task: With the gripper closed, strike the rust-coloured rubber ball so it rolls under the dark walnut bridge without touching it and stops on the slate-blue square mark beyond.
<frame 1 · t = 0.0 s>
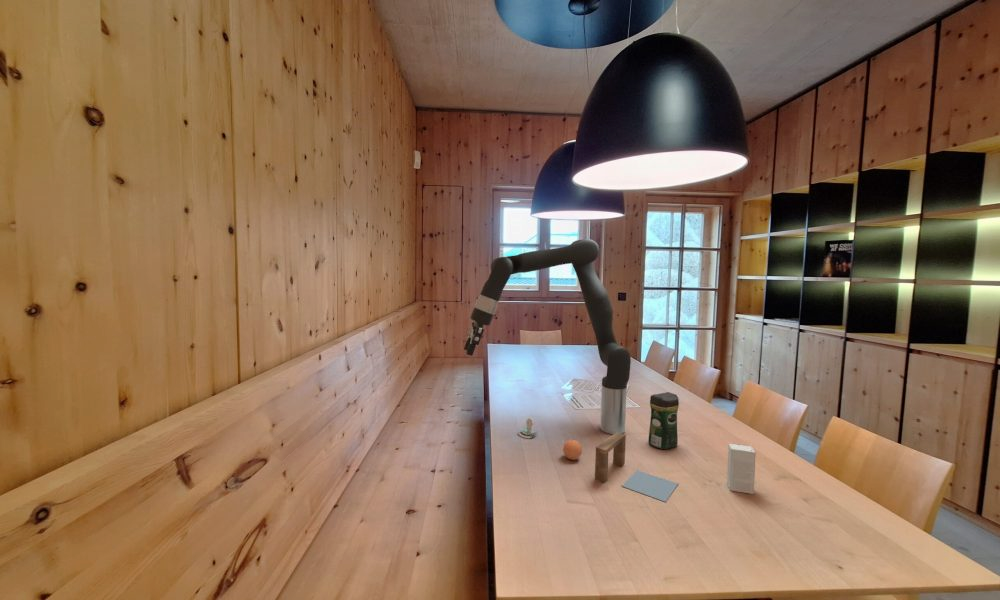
hand: (467, 352, 141), 31 cm above the table, tool tilted 20°, fingers open, 8 cm apart
skincare box: (739, 489, 113), on the table
ball: (572, 449, 129), on the table
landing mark: (650, 485, 114), on the table
coffee jar: (662, 445, 142), on the table
pacifier: (527, 436, 148), on the table
bridge: (610, 471, 121), on the table
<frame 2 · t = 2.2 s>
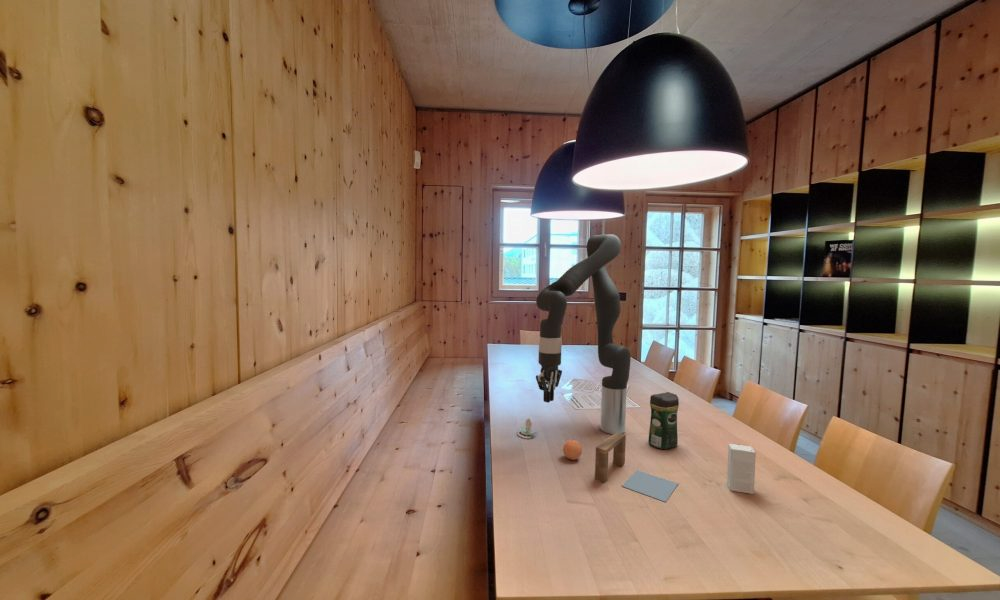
hand: (548, 401, 134), 17 cm above the table, tool pointing down, fingers closed
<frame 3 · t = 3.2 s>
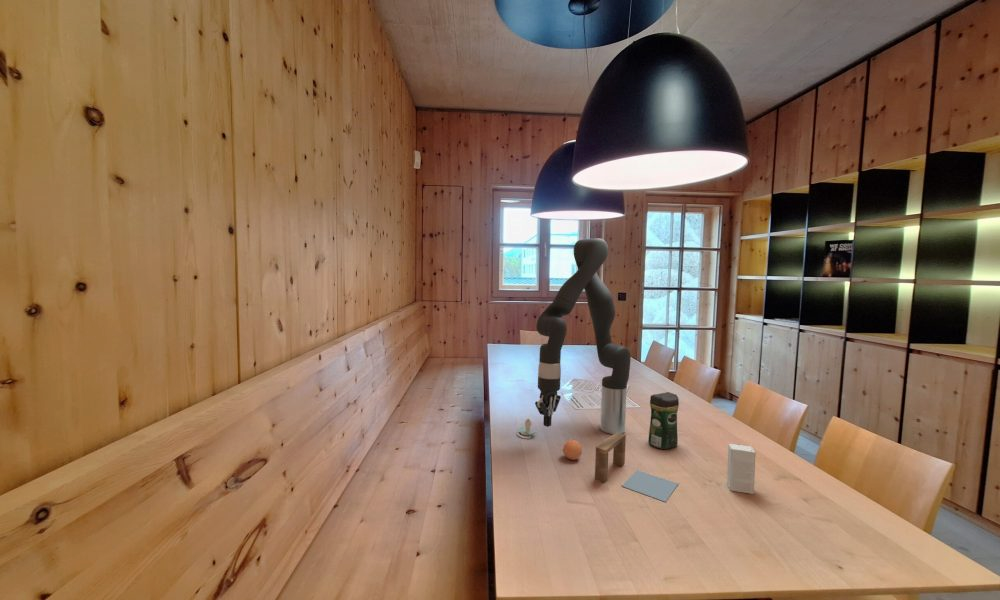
hand: (547, 425, 135), 9 cm above the table, tool pointing down, fingers closed
nothing on the table moved.
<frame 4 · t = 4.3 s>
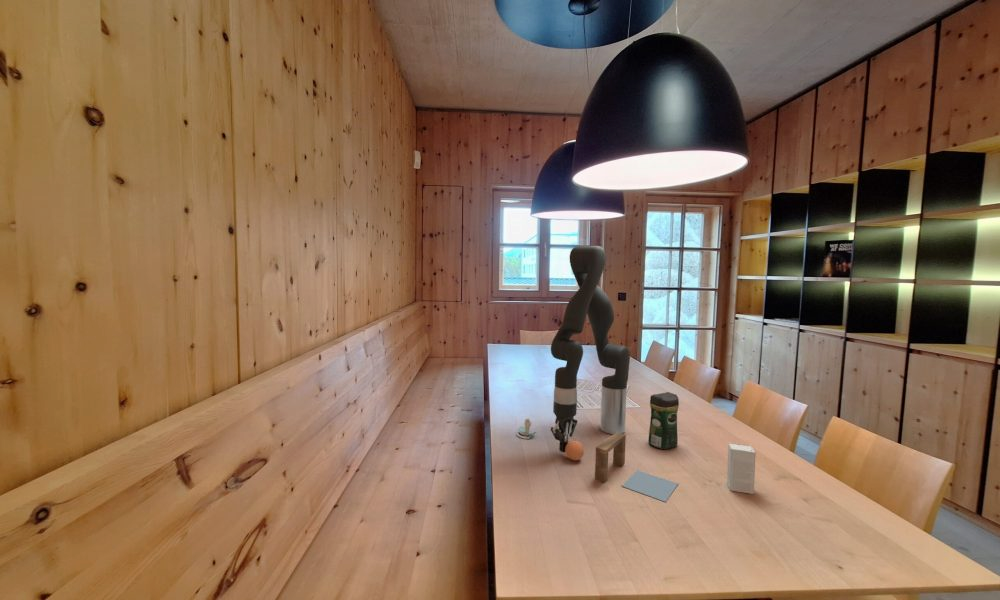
hand: (563, 451, 131), 1 cm above the table, tool pointing down, fingers closed
ball: (574, 450, 129), on the table, touching gripper
everything else where it was.
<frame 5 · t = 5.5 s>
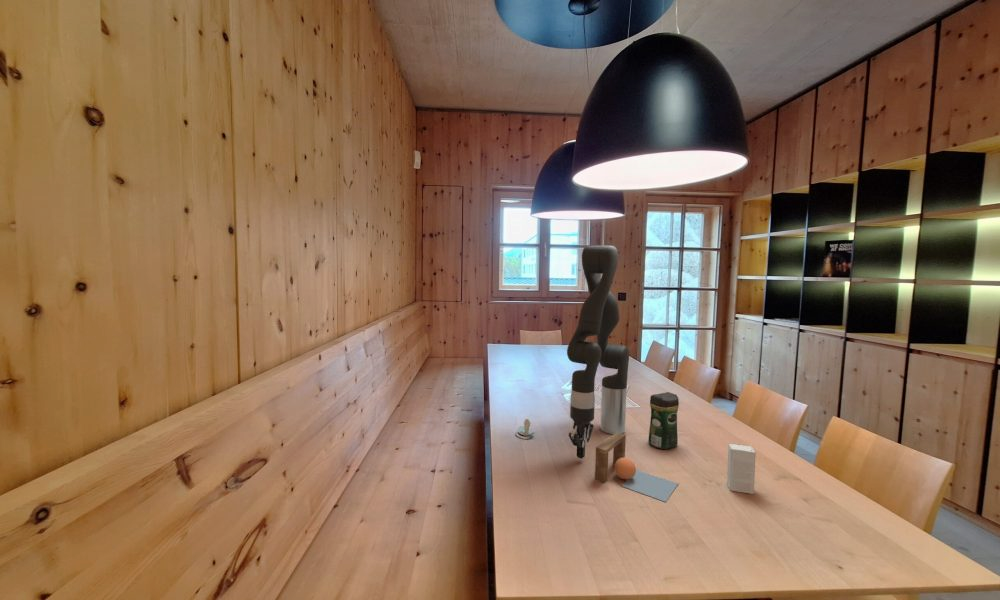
hand: (580, 457, 127), 2 cm above the table, tool pointing down, fingers closed
ball: (625, 468, 117), on the table
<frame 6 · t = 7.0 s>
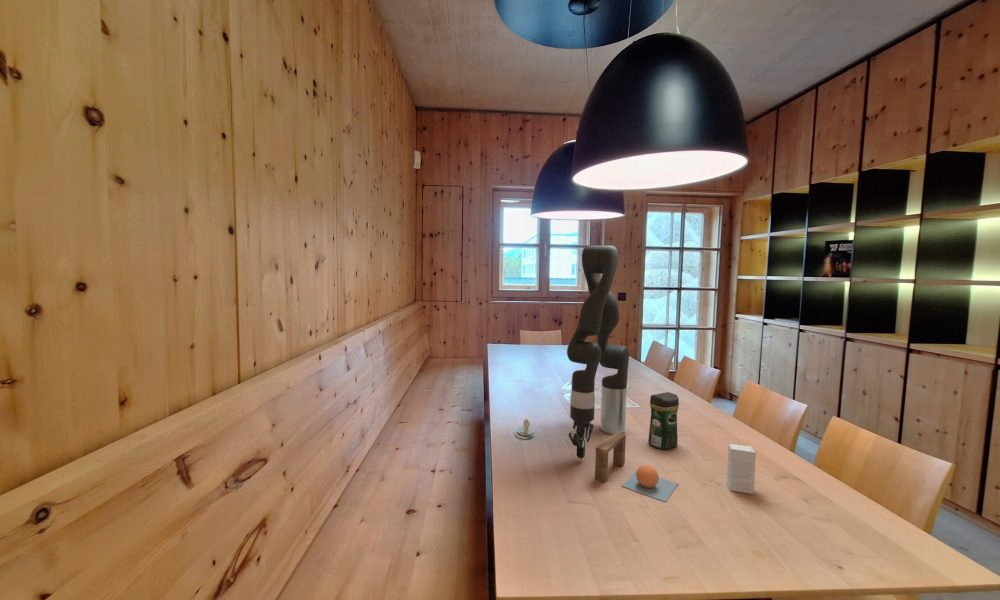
hand: (580, 457, 127), 2 cm above the table, tool pointing down, fingers closed
ball: (647, 476, 113), on the table
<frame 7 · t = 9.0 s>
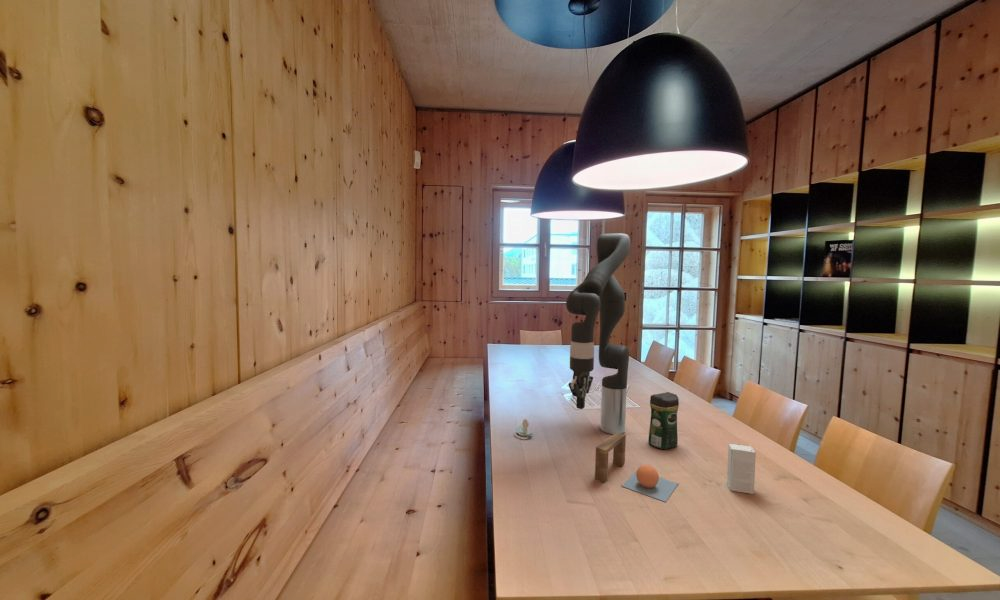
hand: (580, 408, 129), 17 cm above the table, tool pointing down, fingers closed
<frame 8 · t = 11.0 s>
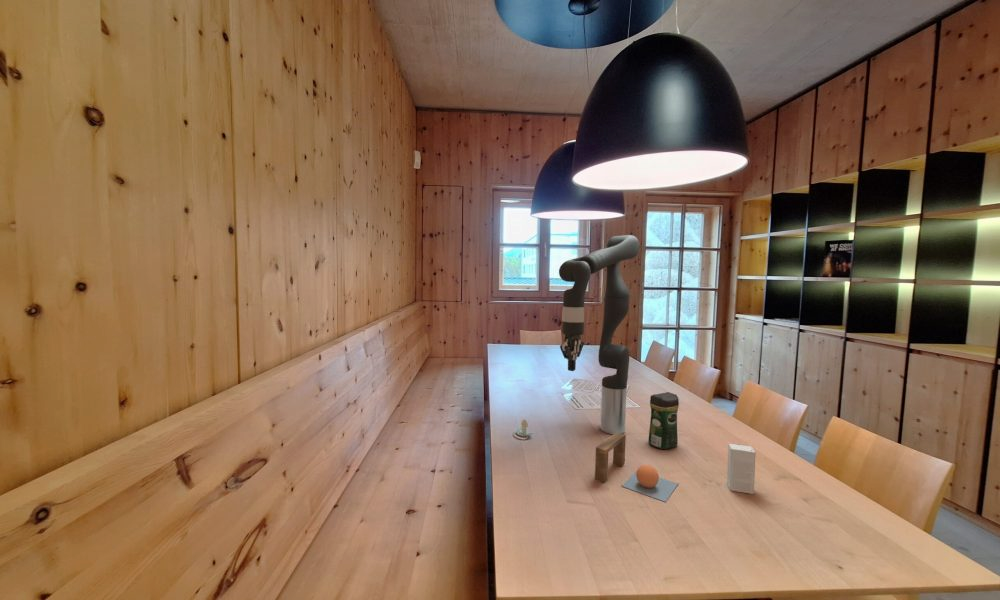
hand: (571, 370, 136), 27 cm above the table, tool pointing down, fingers closed
at the end: ball 1.3 cm from the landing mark (horizontally); ball never touched bridge; ball at rest at the end (0.0 cm/s) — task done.
